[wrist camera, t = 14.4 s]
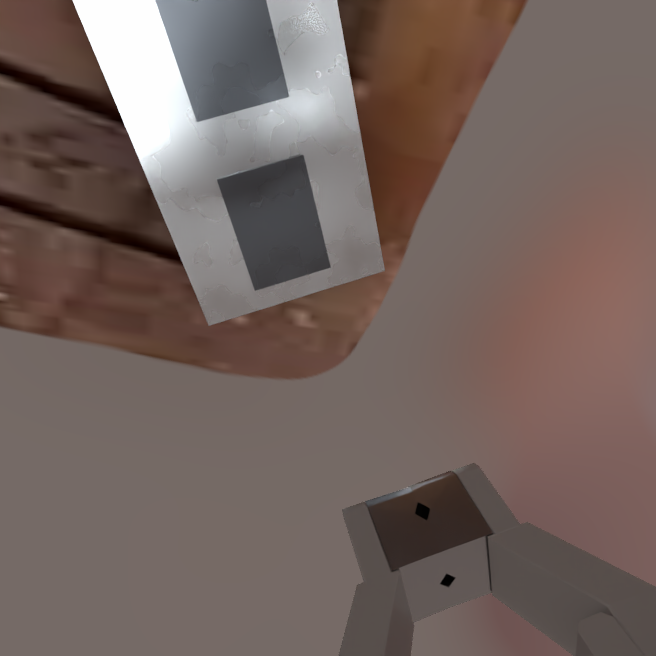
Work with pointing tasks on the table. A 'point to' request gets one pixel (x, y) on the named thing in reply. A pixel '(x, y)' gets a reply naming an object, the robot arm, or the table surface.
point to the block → (244, 141)
